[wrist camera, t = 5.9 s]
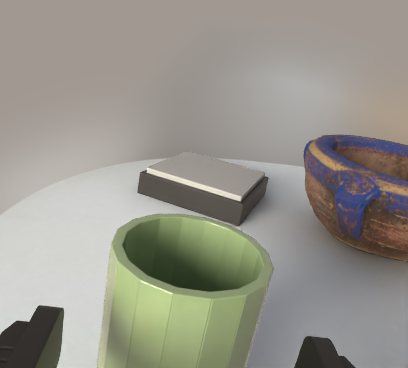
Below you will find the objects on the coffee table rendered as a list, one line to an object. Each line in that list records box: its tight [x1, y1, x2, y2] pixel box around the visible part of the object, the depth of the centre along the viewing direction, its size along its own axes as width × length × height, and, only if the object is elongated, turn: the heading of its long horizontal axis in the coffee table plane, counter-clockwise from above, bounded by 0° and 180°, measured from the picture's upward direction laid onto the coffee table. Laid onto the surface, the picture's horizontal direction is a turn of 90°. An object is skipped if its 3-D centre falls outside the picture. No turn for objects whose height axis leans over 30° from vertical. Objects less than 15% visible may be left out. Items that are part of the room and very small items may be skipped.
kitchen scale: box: [138, 151, 269, 226], centre depth 46 cm, size 12×12×3 cm
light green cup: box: [97, 214, 273, 368], centre depth 16 cm, size 6×6×9 cm
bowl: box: [304, 135, 408, 261], centre depth 40 cm, size 18×18×10 cm
